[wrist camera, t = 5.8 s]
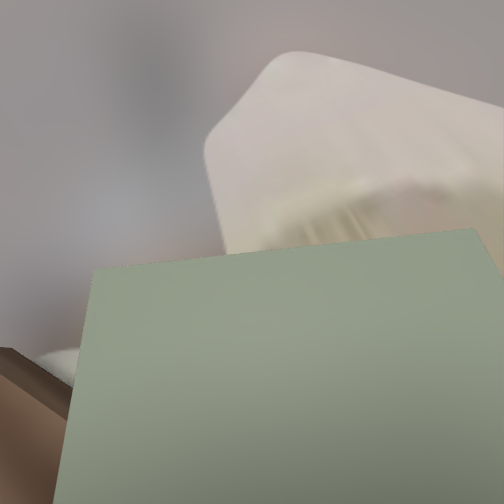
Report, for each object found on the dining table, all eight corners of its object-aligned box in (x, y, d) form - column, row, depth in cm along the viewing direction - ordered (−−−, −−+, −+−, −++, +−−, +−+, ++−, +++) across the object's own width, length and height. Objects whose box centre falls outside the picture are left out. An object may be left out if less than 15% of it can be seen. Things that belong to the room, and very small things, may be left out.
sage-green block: (324, 436, 13) (996, 1139, 1) (229, 449, 13) (-101, 1383, 1) (305, 337, 15) (474, 228, 3) (223, 346, 15) (93, 270, 3)
